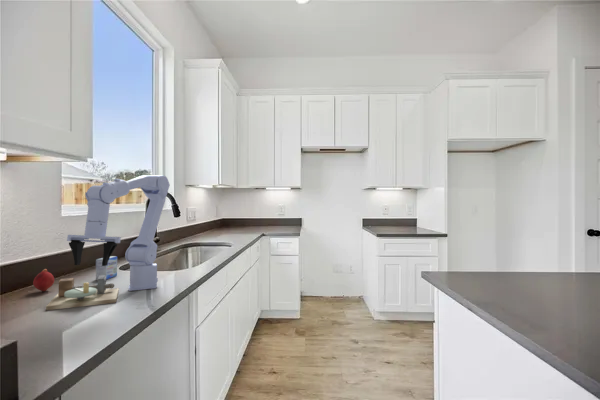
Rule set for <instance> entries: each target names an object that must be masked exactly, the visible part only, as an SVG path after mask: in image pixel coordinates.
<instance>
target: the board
mask: <svg viewBox="0 0 600 400" xmlns="http://www.w3.org/2000/svg"><path fill="white" fill-rule="evenodd" d="M119 293H120V288H119V287H117V288H116V287H114V288H107V289H106V291H105V293H104V294H99V295H97V292H96V293H95V294H93V295H90V296H86V297H84V299H80V300H78V299H77V298H66V297H64V296H61V297H58V293H57V294H56V295H54V297H53V298H52V299H51V300H50V301H49V303H48V304H47V305H46V306H45V311H52V310H60V309H61V310H62V309H69V308H79V307H86V306H87V307H88V306H98V305H106V304H113V303H114V304H115V303H117V300H118V298H119V297H118V296H119Z"/></svg>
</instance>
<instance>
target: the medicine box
mask: <svg viewBox="0 0 600 400" xmlns="http://www.w3.org/2000/svg"><path fill="white" fill-rule="evenodd" d="M102 261H103V257H101V258H97V259H95V281H98V277H99V275H106V281H107V280H109V278H110V279H111V278H114V277H117V275H118V256H116V255H111V256H110V258H109V260H108V263H107V266H102Z"/></svg>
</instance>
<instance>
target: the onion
mask: <svg viewBox="0 0 600 400" xmlns="http://www.w3.org/2000/svg"><path fill="white" fill-rule="evenodd" d="M54 283H55V276H54V275H53V274H52V273H51V272H49V271H48V269H47V268H44V269H42V271H41V272H39V273H38V274H37V275H36V276H35V277H34V278H33V282H32V284H33V286H34V288H35V289H37V290H39V291H41V292H46V291H47V290H49V289H50V288H51V287H52V286H53V285H54Z"/></svg>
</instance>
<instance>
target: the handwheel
mask: <svg viewBox="0 0 600 400" xmlns="http://www.w3.org/2000/svg"><path fill="white" fill-rule="evenodd" d="M89 285H90V283H89V282H83V285H82V286H83V288H75V289H72V290H68V291H66V292H65V293H64V297H66V298H77V299H78V300H80V299H84V297H86V296H90V295H93V294H95V293H96V292H97V289H96V288H93V287H89Z"/></svg>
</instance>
